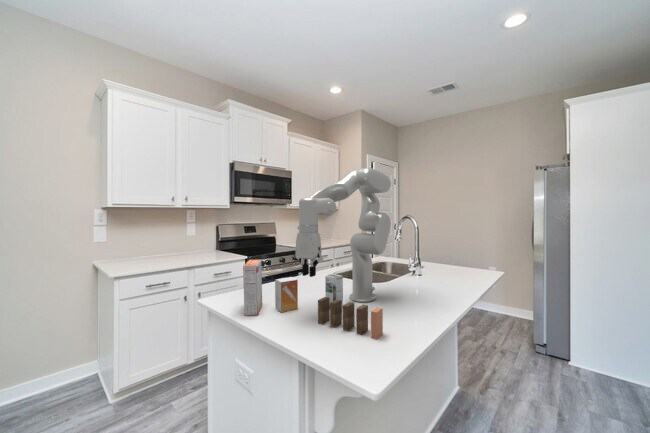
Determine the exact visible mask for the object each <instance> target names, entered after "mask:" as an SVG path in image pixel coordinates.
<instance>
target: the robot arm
mask: <svg viewBox="0 0 650 433" xmlns="http://www.w3.org/2000/svg"><path fill="white" fill-rule="evenodd" d="M391 187H392V182H391V179H390V178H389V176H388V175H387V174H385V173H383V172H380V171H379V170H377V169H374V168H373V167H372V168H371V167H364V168H362V167H361V168H356V169H352V170H350V171H349V172H348V173H346V174H345V175H344V176H343V177H341V178H340V179H339V180H338V181H336V182H335V183H333V184H331V185H328V186H326V187H324V188H322V189H320V190H318V191H317V192H315V193H314V194H312V195H311V196H310V197H305V198H304V197H303V198H300V199H299V201H298V226H297V229H298V231H299V232H297V234H296V240H295V259H297V260H298V261H299V262H300V265H301V266H302V270H301V271H302V277H305V276H309V277H310V278H313V277H315V276H316V275H317V269H316V268H317V266H318V264H319V263H320V262H322V261H324V258H323V255H322V251H323V250H322V241H321V235H320V232H319V217H330V216H332V215H334V214H335V213H336V210H337V203H336V202H341V201H344V200H346V199H348V198H349V197H351V195H354V193H355V192H356V191H357V190H358V191H359V193H360V196H361V197H362V208H361V212H360V215H359V218H358V219H359V220H358V228H359V229H360V230H361V231H363V232H358V233H357V232H356V233H355V234H353V235H352V236H351V238H350V241H349V246H350V250H351V251H350V252H351V256H352V257H351V260H352V261H351V262H352V264H351V265H352V266H351V268H352V273H351V274H352V293H351V294H349V300H351V301H352V302H357V303H370V302H373V301H375V300H376V295H375V294H374V293H373V291H375V290H376V289H375V287H374V286H373V260H372V257H371V255H376V256H377V255H378V256H379V255H382V254H383V253H384V252H385V251H386V248H387V244H388V239H389V234H390V231H391V225H392V224H391V217H390V215H389V214H387V213H386V212H381V211H380V209H381V202H380V200H379V198H378V197H377V195H376V194H383V193H384V194H385V193H387V192H388V191H389V190H390V189H391ZM365 232H366V233H365ZM368 232H370V233H368ZM308 260H310V261H309V263H310V266H309V263H308Z"/></svg>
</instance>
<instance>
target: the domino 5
mask: <svg viewBox="0 0 650 433" xmlns="http://www.w3.org/2000/svg"><path fill="white" fill-rule="evenodd" d="M383 310H384V309H383V307H377V306H376V308H374V309H372V310H371V311H370V338H371V339H375V340H378V339H379V338H380V337H382V335H383V334H384V331H383V328H384V326H383V322H384V320H383V319H384V317H383V315H384V313H383Z"/></svg>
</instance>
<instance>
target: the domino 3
mask: <svg viewBox="0 0 650 433" xmlns="http://www.w3.org/2000/svg"><path fill="white" fill-rule="evenodd" d="M355 320H356V319H355V301H348V302H346V303H345V304H344V303H343V308H342V331H344V332H347V333H348V332H349V331H351V330H352V329H353V328H355V327H356V326H355V323H356V322H355Z"/></svg>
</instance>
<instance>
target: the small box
mask: <svg viewBox="0 0 650 433" xmlns="http://www.w3.org/2000/svg"><path fill="white" fill-rule="evenodd" d="M298 281H299V280H298V279H296V278H295V277H292V276H289V277H281V278H278V279H276V278H275V279H274V284H275V285H274V288H275V289H274V291H275V292H274V295H275V296H274V297H275V298H274V299H275V301H274V304H275V306H274V307H275V309H276V310H277V311H278V312H280V313H285V312H289V311H294V310H299V309H298V308H299V307H298V306H299V305H298V304H299V302H298V301H299V299H298V297H299V294H298V289H299V288H298V285H299V284H298V283H299V282H298Z"/></svg>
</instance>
